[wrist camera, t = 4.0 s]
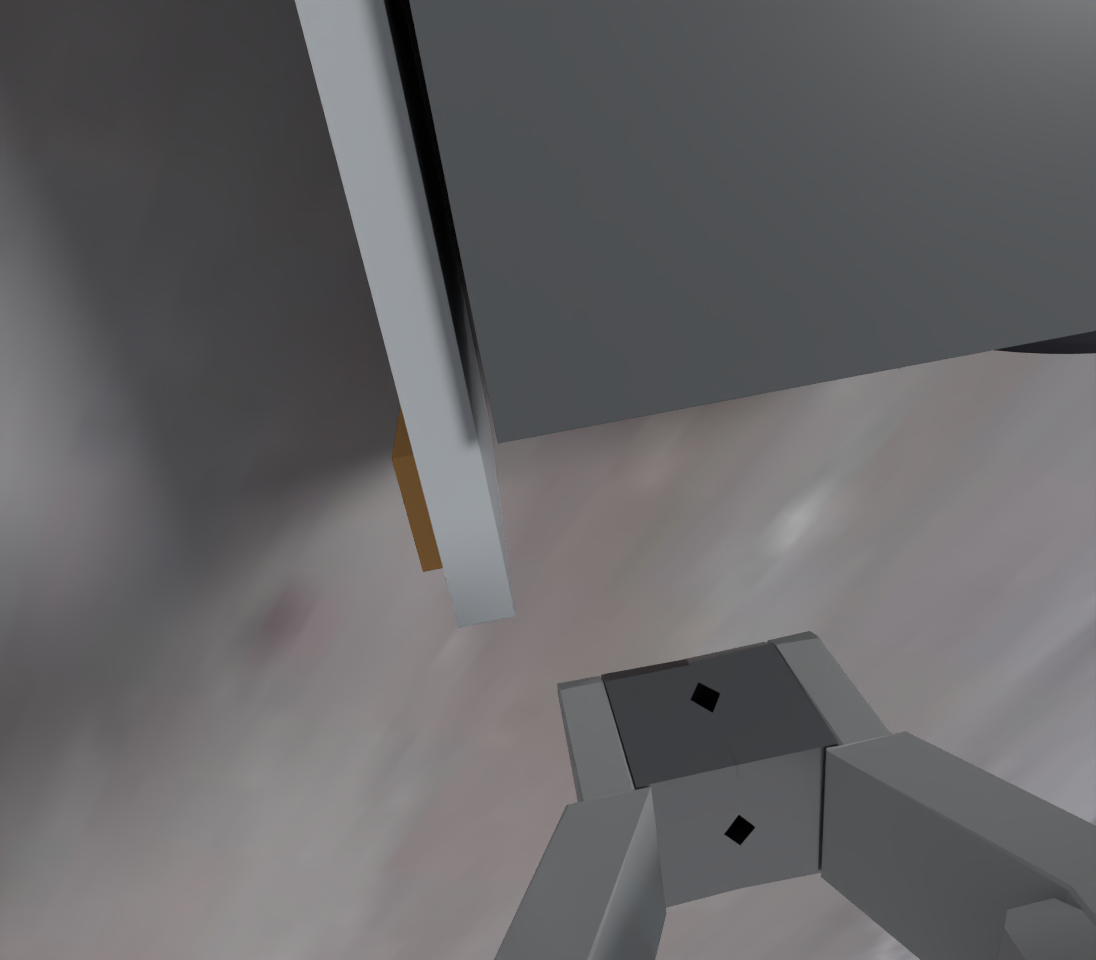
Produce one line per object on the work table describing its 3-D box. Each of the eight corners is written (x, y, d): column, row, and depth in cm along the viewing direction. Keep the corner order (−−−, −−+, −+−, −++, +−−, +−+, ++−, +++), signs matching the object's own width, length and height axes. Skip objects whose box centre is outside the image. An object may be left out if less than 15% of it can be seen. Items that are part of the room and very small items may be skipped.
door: (283, -592, 12) (-28, -1926, 4) (489, 422, 21) (515, 616, 13) (187, -579, 12) (-315, -1912, 4) (433, 432, 21) (424, 634, 13)
